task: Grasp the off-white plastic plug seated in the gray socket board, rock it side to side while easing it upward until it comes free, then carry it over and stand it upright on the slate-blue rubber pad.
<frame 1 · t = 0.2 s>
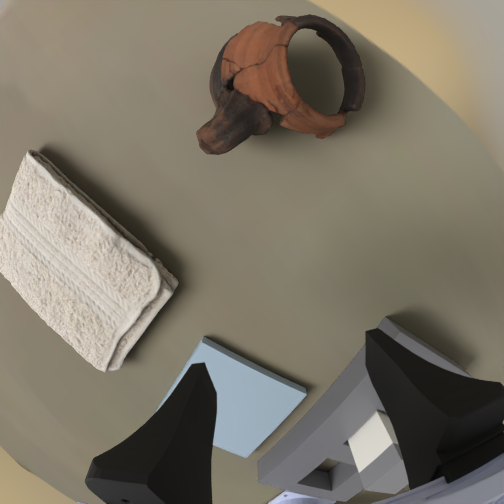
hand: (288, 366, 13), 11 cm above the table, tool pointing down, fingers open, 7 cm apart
gray socket board: (362, 421, 26), on the table
broken clay pot: (268, 100, 21), on the table
plug: (368, 414, 26), resting in gray socket board
pad: (227, 402, 25), on the table
washcloth: (73, 260, 24), on the table
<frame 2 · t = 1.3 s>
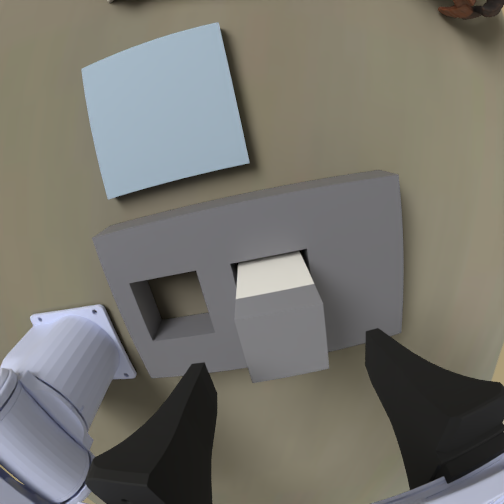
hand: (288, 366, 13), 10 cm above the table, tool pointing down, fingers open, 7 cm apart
gray socket board: (258, 274, 23), on the table
plug: (271, 271, 23), resting in gray socket board
pad: (161, 109, 18), on the table
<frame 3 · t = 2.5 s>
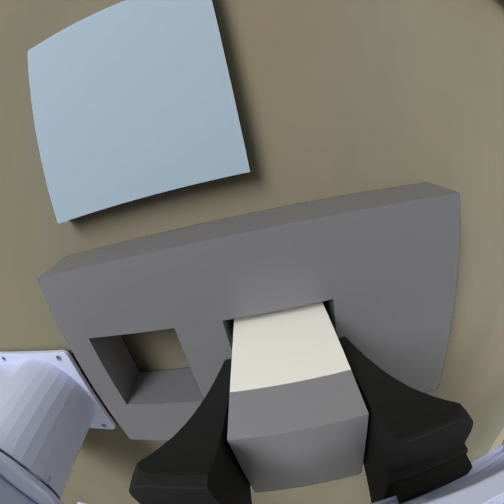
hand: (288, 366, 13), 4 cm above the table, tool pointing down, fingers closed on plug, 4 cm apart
gray socket board: (262, 322, 16), on the table
plug: (280, 319, 16), resting in gray socket board, touching gripper
pad: (125, 96, 12), on the table
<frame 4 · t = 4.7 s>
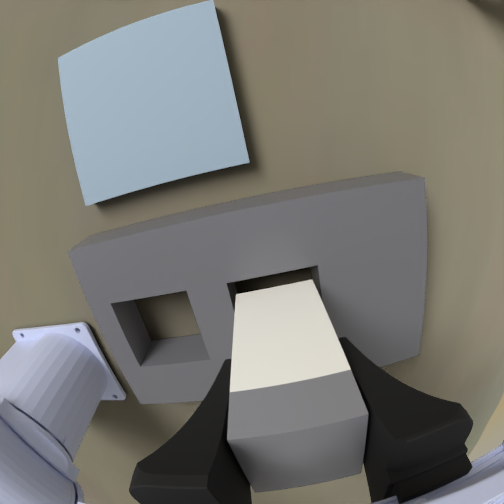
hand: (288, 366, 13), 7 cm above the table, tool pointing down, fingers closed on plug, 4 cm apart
gray socket board: (259, 291, 19), on the table
plug: (280, 319, 16), point 3 cm above the table, touching gripper
pad: (146, 100, 15), on the table
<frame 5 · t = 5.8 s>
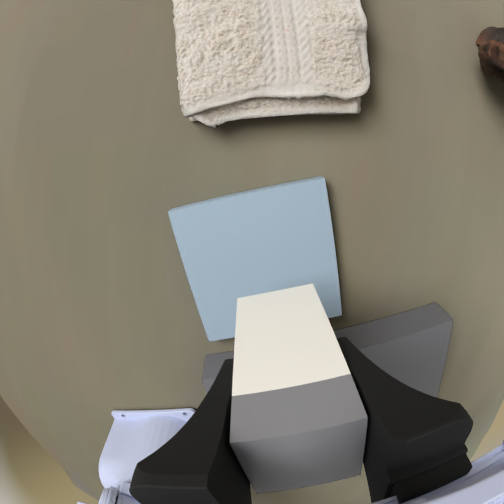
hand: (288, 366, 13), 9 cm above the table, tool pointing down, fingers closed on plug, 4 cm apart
gray socket board: (332, 383, 25), on the table
broken clay pot: (499, 77, 16), on the table
plug: (281, 322, 17), point 5 cm above the table, touching gripper
pad: (261, 262, 21), on the table
washcloth: (262, 4, 16), on the table
when the fingers open (6 cm above the table, at t = 6.9 s): plug drops 1 cm, resting on pad.
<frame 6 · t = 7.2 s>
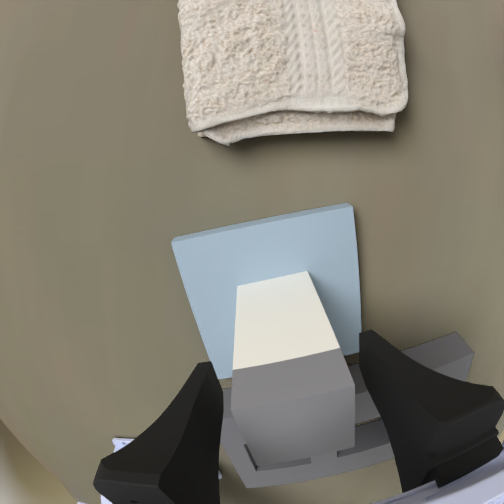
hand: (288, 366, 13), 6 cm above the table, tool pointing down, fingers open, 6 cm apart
gray socket board: (345, 414, 23), on the table
plug: (278, 308, 18), point 1 cm above the table, touching pad
pad: (276, 297, 19), on the table
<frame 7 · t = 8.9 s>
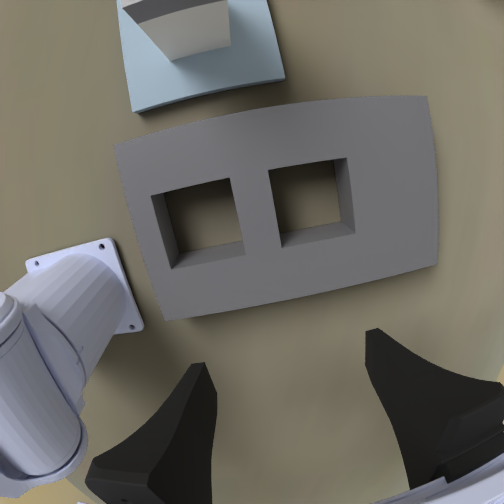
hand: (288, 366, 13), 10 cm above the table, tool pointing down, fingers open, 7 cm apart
gray socket board: (290, 197, 21), on the table
plug: (194, 27, 16), point 1 cm above the table, touching pad
pad: (195, 30, 16), on the table
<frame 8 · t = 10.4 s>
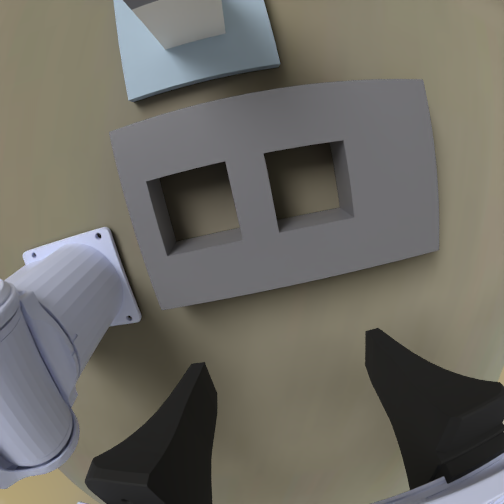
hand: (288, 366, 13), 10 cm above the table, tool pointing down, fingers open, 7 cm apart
gray socket board: (287, 182, 20), on the table
plug: (189, 17, 15), point 1 cm above the table, touching pad
pad: (190, 20, 16), on the table
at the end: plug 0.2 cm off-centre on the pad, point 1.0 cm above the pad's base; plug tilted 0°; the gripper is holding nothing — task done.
